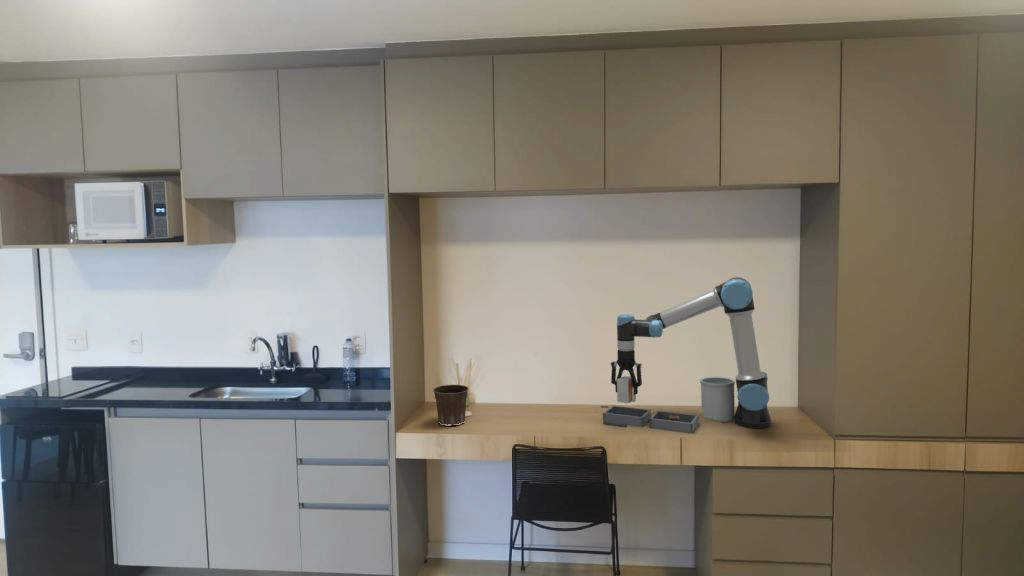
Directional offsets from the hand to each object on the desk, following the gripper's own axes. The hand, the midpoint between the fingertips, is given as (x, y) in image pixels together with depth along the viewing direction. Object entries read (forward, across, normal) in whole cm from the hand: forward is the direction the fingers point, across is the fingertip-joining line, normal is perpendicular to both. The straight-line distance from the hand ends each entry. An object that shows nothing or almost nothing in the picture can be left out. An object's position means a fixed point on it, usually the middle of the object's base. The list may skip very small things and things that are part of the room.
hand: (626, 400), depth 261 cm
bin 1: (+10, 0, 0) cm, 10 cm away
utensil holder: (+10, -35, -22) cm, 43 cm away
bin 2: (+10, -21, 0) cm, 23 cm away
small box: (0, 0, 0) cm, 0 cm away
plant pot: (+11, +73, +32) cm, 80 cm away
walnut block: (+9, -21, 0) cm, 23 cm away
